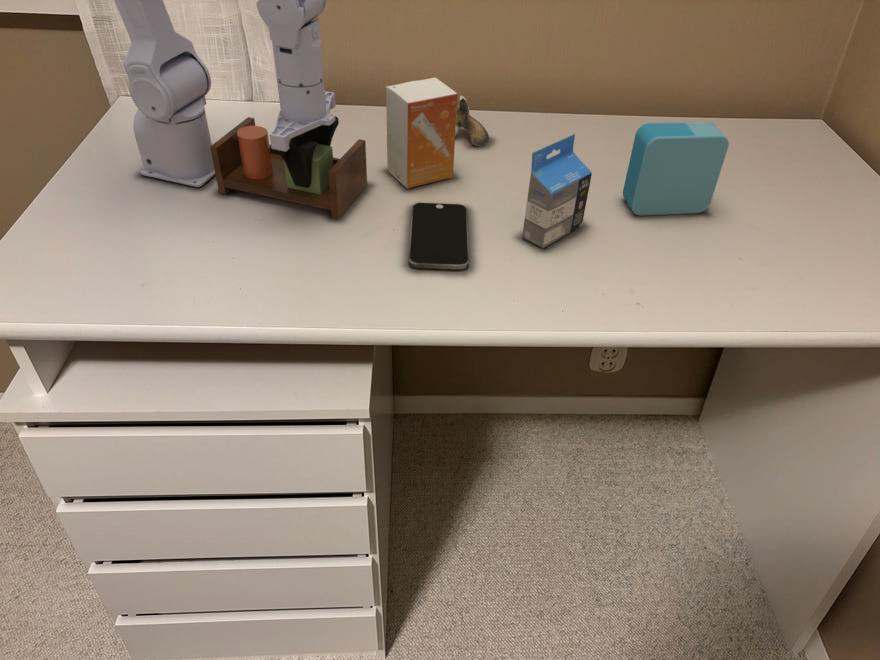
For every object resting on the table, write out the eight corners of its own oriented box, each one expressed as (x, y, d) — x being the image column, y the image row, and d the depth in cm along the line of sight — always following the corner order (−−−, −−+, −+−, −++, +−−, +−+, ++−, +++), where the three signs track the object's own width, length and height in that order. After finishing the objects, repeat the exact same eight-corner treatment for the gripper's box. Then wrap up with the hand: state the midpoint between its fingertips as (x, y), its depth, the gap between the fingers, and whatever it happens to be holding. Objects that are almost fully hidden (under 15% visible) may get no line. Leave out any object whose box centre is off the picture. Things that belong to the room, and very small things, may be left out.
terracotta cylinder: (238, 176, 100) (230, 135, 96) (252, 163, 103) (246, 123, 99) (264, 182, 99) (258, 141, 95) (278, 169, 102) (273, 128, 98)
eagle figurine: (423, 127, 118) (459, 137, 112) (437, 83, 116) (475, 92, 111) (454, 142, 124) (491, 153, 118) (468, 101, 122) (506, 109, 117)
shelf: (338, 219, 98) (335, 172, 93) (219, 193, 101) (209, 146, 96) (367, 185, 105) (365, 140, 101) (255, 161, 108) (248, 116, 104)
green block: (287, 187, 99) (282, 153, 95) (301, 173, 102) (298, 139, 99) (321, 194, 98) (317, 160, 95) (334, 180, 101) (332, 146, 98)
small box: (407, 190, 105) (406, 102, 96) (386, 171, 109) (384, 85, 100) (454, 178, 109) (458, 92, 100) (433, 159, 112) (435, 75, 104)
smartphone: (467, 203, 102) (469, 265, 91) (466, 208, 102) (469, 270, 91) (412, 201, 101) (407, 263, 90) (412, 206, 102) (407, 268, 91)
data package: (695, 197, 109) (718, 121, 101) (707, 213, 106) (732, 136, 98) (620, 200, 107) (637, 122, 99) (630, 216, 104) (648, 137, 96)
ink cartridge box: (542, 250, 96) (555, 164, 88) (520, 238, 98) (530, 153, 89) (583, 226, 101) (598, 143, 93) (561, 215, 103) (574, 132, 94)
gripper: (303, 106, 84) (313, 208, 93) (353, 63, 95) (358, 159, 104) (248, 95, 85) (264, 197, 94) (304, 54, 96) (313, 150, 105)
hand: (310, 177), depth 99 cm, fingers closed on green block, 4 cm apart
